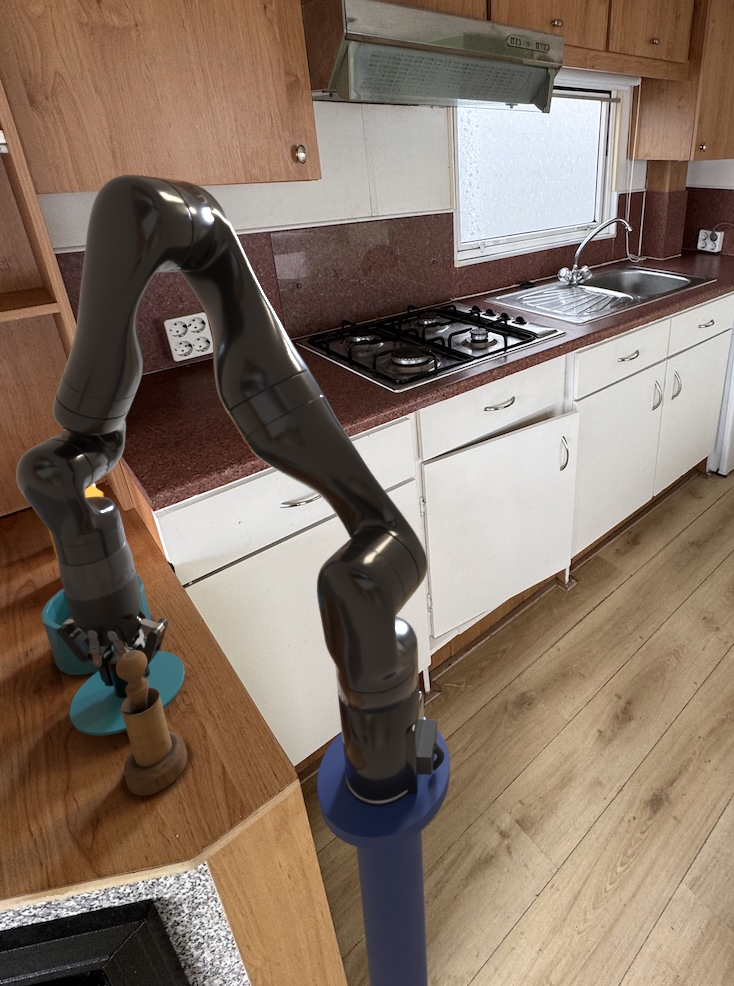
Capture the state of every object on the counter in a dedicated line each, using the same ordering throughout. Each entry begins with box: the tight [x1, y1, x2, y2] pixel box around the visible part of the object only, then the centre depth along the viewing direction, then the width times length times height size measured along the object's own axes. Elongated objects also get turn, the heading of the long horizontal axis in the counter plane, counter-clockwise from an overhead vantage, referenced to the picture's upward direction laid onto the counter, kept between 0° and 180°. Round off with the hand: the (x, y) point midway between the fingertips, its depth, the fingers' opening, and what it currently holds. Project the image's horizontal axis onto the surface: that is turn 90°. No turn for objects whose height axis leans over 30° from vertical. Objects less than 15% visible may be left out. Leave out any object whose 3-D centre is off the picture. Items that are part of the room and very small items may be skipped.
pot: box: [40, 574, 152, 676], centre depth 89 cm, size 13×13×8 cm
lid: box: [69, 649, 186, 737], centre depth 78 cm, size 13×13×7 cm
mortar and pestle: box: [116, 650, 188, 797], centre depth 68 cm, size 7×6×18 cm
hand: (127, 681), depth 79 cm, fingers closed on lid, 3 cm apart
